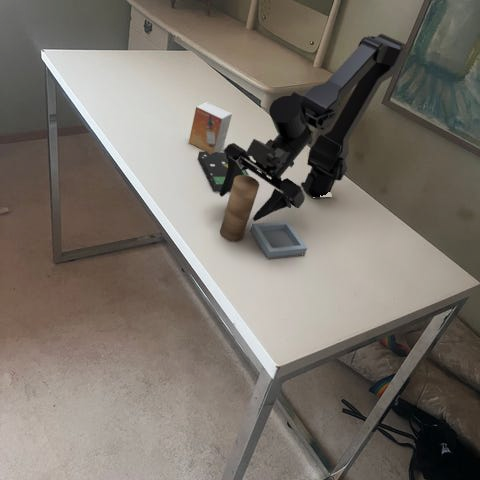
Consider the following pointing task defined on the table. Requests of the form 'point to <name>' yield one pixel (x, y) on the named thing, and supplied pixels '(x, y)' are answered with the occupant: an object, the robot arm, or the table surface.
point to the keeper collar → (277, 239)
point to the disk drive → (215, 168)
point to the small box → (209, 127)
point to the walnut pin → (239, 207)
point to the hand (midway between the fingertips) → (236, 207)
